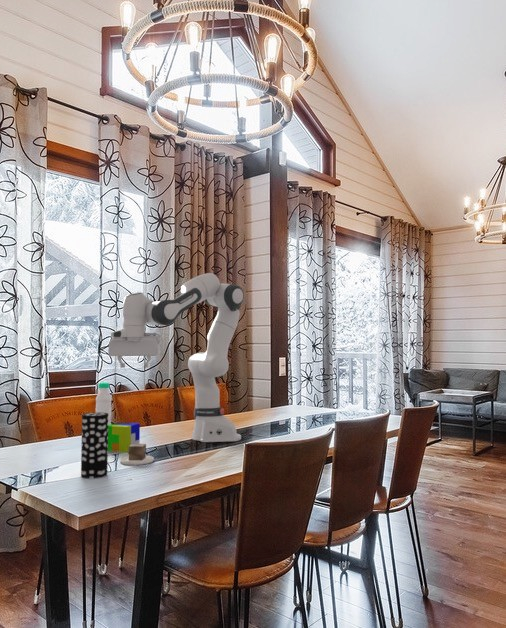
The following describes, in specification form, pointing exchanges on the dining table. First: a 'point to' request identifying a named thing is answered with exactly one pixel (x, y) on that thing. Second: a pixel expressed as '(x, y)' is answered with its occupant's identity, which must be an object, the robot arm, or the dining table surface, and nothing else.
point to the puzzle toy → (123, 436)
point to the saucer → (137, 461)
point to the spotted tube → (94, 445)
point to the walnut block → (137, 451)
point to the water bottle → (104, 400)
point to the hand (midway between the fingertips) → (134, 367)
